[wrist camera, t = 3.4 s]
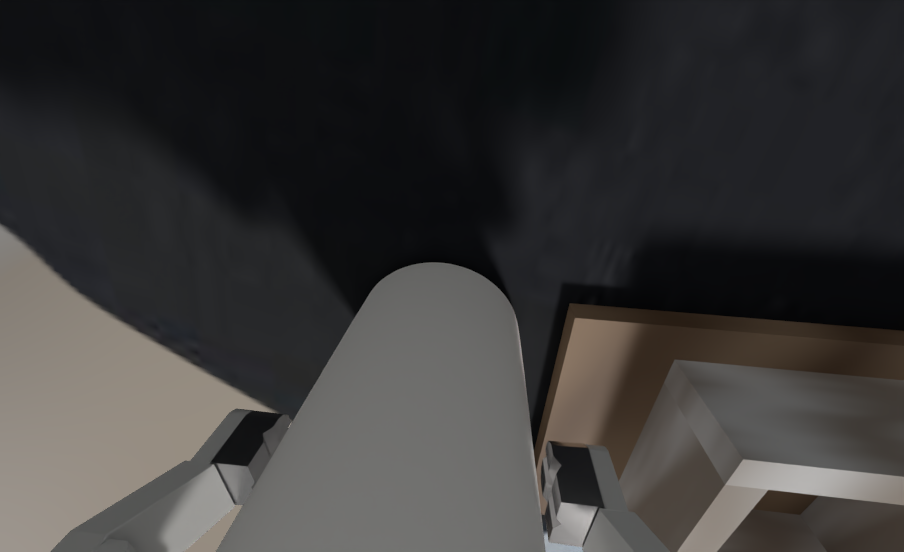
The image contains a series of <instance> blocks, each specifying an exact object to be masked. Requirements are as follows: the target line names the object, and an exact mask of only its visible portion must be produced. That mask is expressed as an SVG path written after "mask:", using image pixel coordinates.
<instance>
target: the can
mask: <svg viewBox="0 0 904 552" xmlns="http://www.w3.org/2000/svg"><path fill="white" fill-rule="evenodd" d="M216 552H545V543H544V535H543V526H542V517H541V509H540V500H539V492H538V484H537V475H536V467H535V458H534V450H533V442H532V433H531V425H530V417H529V409H528V400H527V392H526V384H525V376H524V368H523V360H522V352H521V344H520V337H519V330H518V324H517V320H516V316H515V313H514V310H513V308H512V306H511V304H510V302H509V301H508V299H507V298H506V296H505V295H504V294H503V293H502V291H501V290H500V289H499V288H498V287H497V286H496V285H494V284H493V283H492V282H491V281H489V280H488V279H487V278H485V277H483V276H482V275H480V274H478V273H476V272H474V271H472V270H470V269H467V268H464V267H461V266H457V265H453V264H448V263H437V262H429V263H419V264H414V265H410V266H407V267H404V268H401V269H399V270H397V271H394V272H393V273H391V274H389V275H388V276H386V277H385V278H383V279H382V280H381V281H379V282H378V283H377V284H376V286H375V287H374V288H373V289H372V291H371V292H370V294H369V295H368V297H367V298H366V300H365V302H364V303H363V305H362V307H361V308H360V310H359V311H358V313H357V315H356V316H355V318H354V320H353V321H352V323H351V325H350V326H349V328H348V330H347V331H346V333H345V335H344V336H343V338H342V340H341V341H340V343H339V345H338V346H337V348H336V350H335V351H334V353H333V355H332V356H331V358H330V360H329V361H328V363H327V365H326V366H325V368H324V370H323V371H322V373H321V375H320V376H319V378H318V380H317V381H316V383H315V385H314V387H313V388H312V390H311V392H310V393H309V395H308V397H307V398H306V400H305V402H304V403H303V405H302V407H301V408H300V410H299V412H298V413H297V415H296V417H295V418H294V420H293V422H292V424H291V425H290V427H289V429H288V430H287V432H286V434H285V435H284V437H283V439H282V440H281V442H280V444H279V445H278V447H277V449H276V450H275V452H274V454H273V456H272V457H271V459H270V461H269V462H268V464H267V466H266V467H265V469H264V471H263V472H262V474H261V476H260V478H259V479H258V481H257V483H256V484H255V486H254V488H253V489H252V491H251V493H250V494H249V496H248V498H247V499H246V501H245V503H244V505H243V506H242V508H241V510H240V512H239V513H238V515H237V516H236V518H235V520H234V521H233V523H232V525H231V527H230V528H229V530H228V532H227V533H226V535H225V537H224V539H223V540H222V542H221V544H220V545H219V547H218V549H217V551H216Z"/></svg>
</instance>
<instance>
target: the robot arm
mask: <svg viewBox="0 0 904 552" xmlns="http://www.w3.org/2000/svg"><path fill="white" fill-rule="evenodd" d="M290 423H291V422H290V419H289V416H288V415H285V414H277V413H269V412H259V411H253V410H244V409H235V410H233V411H232V412H230V413H229V414H228V415H227V416H226V418H225V419H224V420H223V421H222V422H221V424H220V425H219V426H218V427H217V429H216V430H215V431H214V432H213V434H212V435H211V436H210V437H209V438H208V440H207V441H206V442H205V443H204V445H203V446H202V447H201V448H200V450H199V451H198V452H197V453H196V455H195V456H194V457H193V458H192V459H191V461H184V462H182V463H180V464H179V465H177V466H176V467H174V468H172V469H171V470H169V471H167V472H166V473H164V474H163V475H161V476H159V477H158V478H156V479H154V480H153V481H151V482H149V483H148V484H146V485H145V486H143V487H141V488H140V489H138V490H136V491H135V492H133V493H131V494H130V495H128V496H127V497H125V498H123V499H122V500H120V501H118V502H117V503H115V504H114V505H112V506H110V507H109V508H107V509H105V510H104V511H102V512H100V513H99V514H97V515H96V516H94V517H93V518H91V519H89V520H87V521H86V522H84V523H83V524H81V525H79V526H78V527H76V528H75V529H73V530H71V531H70V532H69V533H68V534H67V535H66V536H65V537H64V538H63V539H62V540H61V542H60V543H58V544H57V545H56V547H55V548H54V549H53V550H52V551H51V552H184V551H185V550H187V549H188V548H189V547H190V546H191V545H192V544H193V543H194V542H196V541H197V540H198V539H199V538H200V537H201V536H202V535H203V534H204V533H205V532H207V531H208V530H209V529H210V528H211V527H213V526H214V525H215V524H216V523H217V522H218V521H219V520H220V519H222V518H223V517H224V516H225V515H226V514H227V513H228V512H229V511H231V510H232V509H233V508H234V507H235V505H244V503H245V501H246V499H247V498H248V496H249V494H250V493H251V491H252V489H253V488H254V486H255V484H256V483H257V481H258V479H259V478H260V476H261V474H262V472H263V471H264V469H265V467H266V466H267V464H268V462H269V461H270V459H271V457H272V456H273V454H274V452H275V450H276V449H277V447H278V445H279V444H280V442H281V440H282V439H283V437H284V435H285V434H286V432H287V430H288V429H289V428H288V426H289V425H290ZM545 450H546V457H545V458H543V461H542V466H541V488H542V496H543V497H544V498H545V500H546V501H547V503H548V504H547V507H546V511H545V519H546V526H547V533H548V540H549V542H551V543H558V544H565V545H571V546H578V547H583V549H582V550H583V551H584V552H670V551H669V550H668V549H667V548H666V546H665V545H664V544H663V543H662V542H661V541H660V540H659V539H658V538H657V536H656V535H655V534H654V533H653V532H652V531H651V530H650V529H649V528H648V526H647V525H646V524H645V523H644V522H643V521H642V520H641V519H640V518H639V516H638V515H637V514H636V513H635V512H630V511H628V508H627V505H626V502H625V499H624V496H623V493H622V490H621V487H620V484H619V481H618V478H617V475H616V472H615V469H614V466H613V463H612V460H611V457H610V454H609V451H608V450H607V448H606V447H605V446H598V445H585V444H582V443H570V442H559V441H548V442H547V444H546V448H545ZM234 504H235V505H234Z"/></svg>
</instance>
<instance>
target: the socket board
mask: <svg viewBox="0 0 904 552" xmlns="http://www.w3.org/2000/svg"><path fill="white" fill-rule="evenodd" d="M548 441H559V442H570V443H582V444H585V445H598V446H605V447H606V448H607V450H608V451H609V454H610V457H611V460H612V463H613V466H614V469H615V472H616V475H617V478H618V481H619V484H620V487H621V490H622V493H623V496H624V499H625V502H626V505H627V508H628V511H630V512H635V513H636V514H637V515H638V516H639V518H640V519H641V520H642V521H643V522H644V523H645V524H646V525H647V526H648V528H649V529H650V530H651V531H652V532H653V533H654V534H655V535H656V536H657V538H658V539H659V540H660V541H661V542H662V543H663V544H664V545H665V546H666V548H667V549H668V550H669V551H670V552H904V331H900V330H888V329H876V328H864V327H852V326H839V325H827V324H815V323H803V322H791V321H779V320H767V319H755V318H743V317H731V316H718V315H706V314H694V313H682V312H670V311H658V310H646V309H634V308H622V307H610V306H597V305H585V304H573V303H570V304H569V308H568V312H567V316H566V320H565V324H564V328H563V333H562V337H561V341H560V345H559V349H558V353H557V358H556V362H555V366H554V370H553V374H552V378H551V383H550V387H549V391H548V395H547V399H546V403H545V407H544V412H543V416H542V420H541V424H540V428H539V432H538V437H537V441H536V445H535V449H534V458H535V467H536V475H537V484H538V492H539V500H540V509H541V514H543V515H545V511H546V507H547V504H548V503H547V501H546V500H545V498H544V497H543V496H542V488H541V466H542V461H543V458H545V457H546V450H545V448H546V444H547V442H548Z"/></svg>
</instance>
